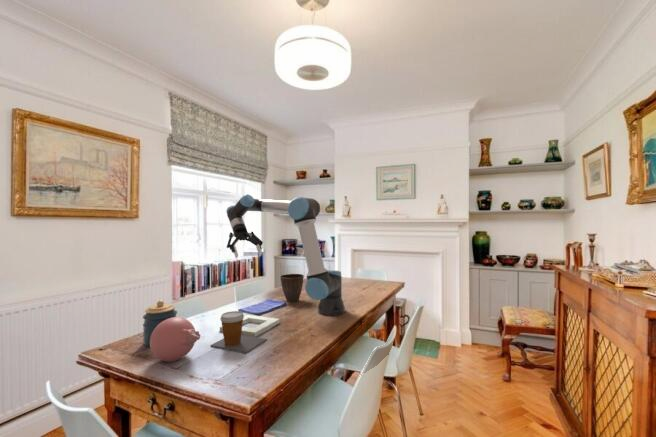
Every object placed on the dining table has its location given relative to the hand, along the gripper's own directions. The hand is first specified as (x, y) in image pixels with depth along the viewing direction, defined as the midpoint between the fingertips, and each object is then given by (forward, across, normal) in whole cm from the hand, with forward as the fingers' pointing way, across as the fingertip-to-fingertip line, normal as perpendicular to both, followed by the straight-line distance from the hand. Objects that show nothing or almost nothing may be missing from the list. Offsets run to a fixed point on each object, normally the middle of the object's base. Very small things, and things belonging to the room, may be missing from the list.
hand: (249, 255), depth 165 cm
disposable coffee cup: (+45, +21, 0) cm, 50 cm away
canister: (+30, +44, -17) cm, 56 cm away
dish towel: (+17, -12, -30) cm, 37 cm away
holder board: (+35, +6, -12) cm, 37 cm away
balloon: (+47, +42, 0) cm, 63 cm away
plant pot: (+14, -34, -32) cm, 49 cm away
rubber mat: (+46, +18, 0) cm, 49 cm away
